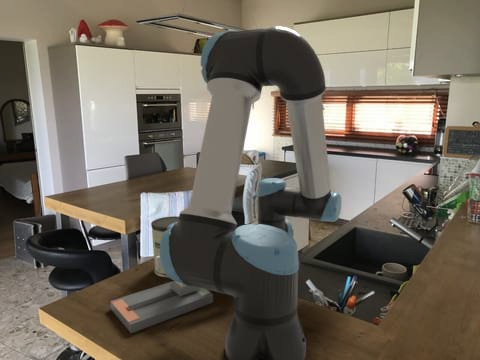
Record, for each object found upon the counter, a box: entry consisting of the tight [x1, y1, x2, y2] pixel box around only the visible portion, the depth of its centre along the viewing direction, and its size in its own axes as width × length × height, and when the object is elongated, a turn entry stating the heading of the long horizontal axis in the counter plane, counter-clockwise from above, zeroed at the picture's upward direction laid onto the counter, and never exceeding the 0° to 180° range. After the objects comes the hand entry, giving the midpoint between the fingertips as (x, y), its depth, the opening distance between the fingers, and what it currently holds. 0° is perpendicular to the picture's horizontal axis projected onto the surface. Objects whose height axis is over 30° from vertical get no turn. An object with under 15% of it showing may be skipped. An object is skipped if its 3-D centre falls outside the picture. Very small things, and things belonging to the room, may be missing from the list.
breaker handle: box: [170, 280, 199, 296], centre depth 92 cm, size 5×5×12 cm
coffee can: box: [150, 215, 179, 279], centre depth 108 cm, size 10×10×14 cm
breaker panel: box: [109, 281, 214, 334], centre depth 90 cm, size 12×20×2 cm, turn 127°
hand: (162, 266), depth 88 cm, fingers open, 5 cm apart
